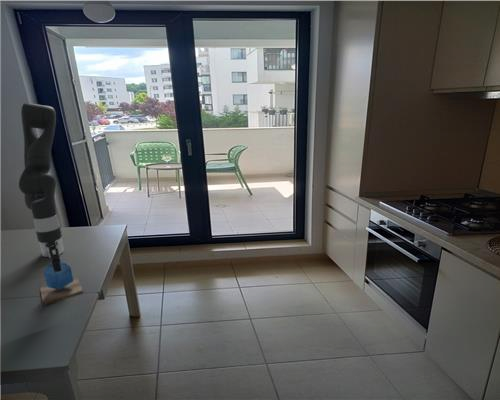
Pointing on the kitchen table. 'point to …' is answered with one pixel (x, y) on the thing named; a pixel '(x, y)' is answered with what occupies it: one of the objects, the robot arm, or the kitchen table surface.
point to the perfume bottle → (58, 276)
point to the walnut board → (60, 292)
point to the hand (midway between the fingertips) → (56, 268)
